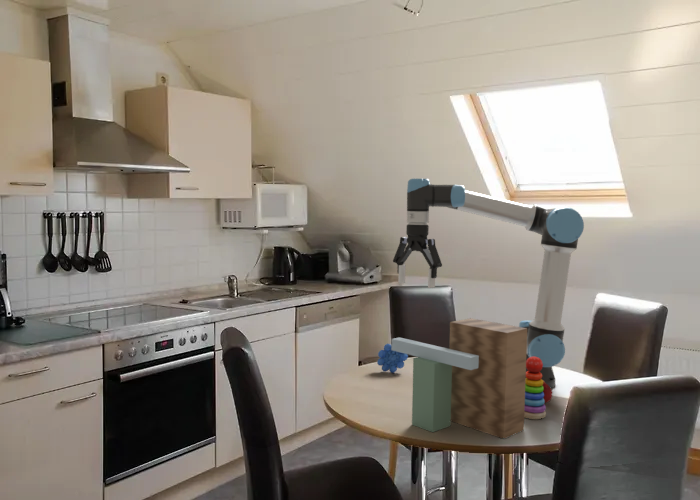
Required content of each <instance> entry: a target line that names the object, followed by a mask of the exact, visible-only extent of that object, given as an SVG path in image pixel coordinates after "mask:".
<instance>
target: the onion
mask: <svg viewBox="0 0 700 500" xmlns="http://www.w3.org/2000/svg"><path fill="white" fill-rule="evenodd" d="M542 386H543V388H544V390H543V393H544V397H543V398H544V400H545V403H544V404H547V403H549V402H550V401H551V400H552V398H553V390H552V388H550V386H549V385H547V384H546V383H545V382H544V381H543V385H542Z"/></svg>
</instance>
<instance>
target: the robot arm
mask: <svg viewBox="0 0 700 500" xmlns="http://www.w3.org/2000/svg"><path fill="white" fill-rule="evenodd" d="M406 200H407V201H406V223H407V224H406V231H405V233H406V235H407V236H401V237H400V238H399V244H398V247H397V249H396V252H395V253H394V256H393V260H392V262H393V263H395V264H396V265H397V267H396V269H397V274H398V281H397V282H398V284H399V285H400V284H401V285H402V284H406V264H405V262H406V261H407V260H408V258H409V257H410V255H411V254H412V252H419V253H421V254H422V256H423V258H424V259H425V261H426V262H427V264H428V266H429V268H427V269H428V272H427V273H428V275H427V289H431V288H432V289H433V288H434V289H435V288H436V279H437V277H438V276H437V275H438V274H437V273H438V268H441V267H443V263H442V260H441V258H440V255H439V252H438V248H437V247H436V239H434V238H429V239H428V235H429V228H430V226H429V225H428V223H429V222H430V221H429V220H430V207H432V208H434V207H437V208H439V207H440V208H448V209H453V210H456V211H457V210H458V211H461V212H466V213H469V214H473V215H477V216H481V217H485V218H490V219H493V220H496V221H499V222H500V221H501V222H505V223H509V224H513V225H518V226H521V227H524V228H525V229H526V231H530V232H532V233H535V234H536V233H537V234H538V235H541V241H540V246H541V247H542V248H543V250H544V251H543V260H542V265H541V266H542V267H541V272H540V273H541V274H540V279H539V280H540V281H539V287H538V295H537V300H536V308H535V315H534V319H533V320H527V319H526V320H520V321H519V324H518V327H523V328H527V353H526V361H527V359H528V358H530V357H538V358H540V359H541V361H542V363H543V367H542V369H541V371H540V373H542V378H541V379H542V380H543V381H544V382H545V383H546V384H547V385H549V386H550V387H552V388H553V386H554V387H555V386H556V377H555V373H554V370H553V367H554V366H556V365H558V364H560V363H561V362H562V360H563V359H564V357H565V354H566V347H565V346H566V345H565V343H564V336H565V329H566V328H565V327H564V325H562V323H561V322H562V317H563V310H564V302H565V296H566V290H567V283H568V277H569V271H570V270H569V269H570V263H571V262H570V261H571V258H572V257H571V256H572V253H573V252H575V251H576V250H577V249H578V247H577V246H578V244H579V243H578V242H579V238H580V237H581V236H582V234H583V232H584V228H585V225H584V224H585V223H584V219H583V217H582V216H581V214H580V213H579V211H577V210H575V209H574V208H572V207H569V206H566V205H565V206H555V205H554V206H552V205H551V206H547V205H540V204H536V203H534V204H532V205H528V204H523V203H519V202H515V201H513V200H512V201H511V200H507V199H503V198H499V197H495V196H490V195H487V194H483V193H480V192H479V193H478V192H474V191H471V190H470V191H469V190H467V189H466V188H465V186H464V185H462V184H432V183H431V182H430V179H429V178H410V179H409V180H408V181H407V189H406ZM527 371H528V370H527V368H526V372H527Z"/></svg>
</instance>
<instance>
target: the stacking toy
mask: <svg viewBox="0 0 700 500" xmlns="http://www.w3.org/2000/svg"><path fill="white" fill-rule="evenodd" d="M542 367H543V363H542V361H541V359H540V358H538V357H530V358H528V359H527V361H526V368H527V370H528V371H527V372H526V380H525V408H524V419H528V418H529V419H528V420H541V418H542V419H544V418H546V416H547V412H546V410H547V406H546V405H545V404H546V403H545V400H544V398H543V397H544V393H543V390H544V388H543V386H542V385H543V380H542V379H541V378H542V373H540V371H541V369H542ZM544 403H545V404H544Z"/></svg>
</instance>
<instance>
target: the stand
mask: <svg viewBox="0 0 700 500" xmlns="http://www.w3.org/2000/svg"><path fill="white" fill-rule="evenodd" d="M448 349H452V350H456V351H461V352H465V353H469V354H474V355H478V356H479V365H478V368H477V369H473V370H468V369H464V368H460V367H456V366H452V386H451V422H452V423H455V424H457V425H458V424H459V425H461V426H464V427H468V428H471V429H473V430H476V431H480V432H483V433H485V434H488V435H492V436H493V437H497V438H501V439H503V438H505V439H507V438H509V437H512V436H514V435H516V434H518V432H519V433H521V432H523V431H524V430H525V429H524V427H525V417H524V408H525V380H526V353H527V328H523V327H519V326H517V325H510V324H505V323H500V322H494V321H487V320H483V319H478V318H471V317H469V318H465V319H459V320H458V319H457V320H454V321H450V322H449V348H448ZM522 430H523V431H522ZM520 431H521V432H520ZM515 433H516V434H515ZM513 434H514V435H513ZM511 435H512V436H511Z"/></svg>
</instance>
